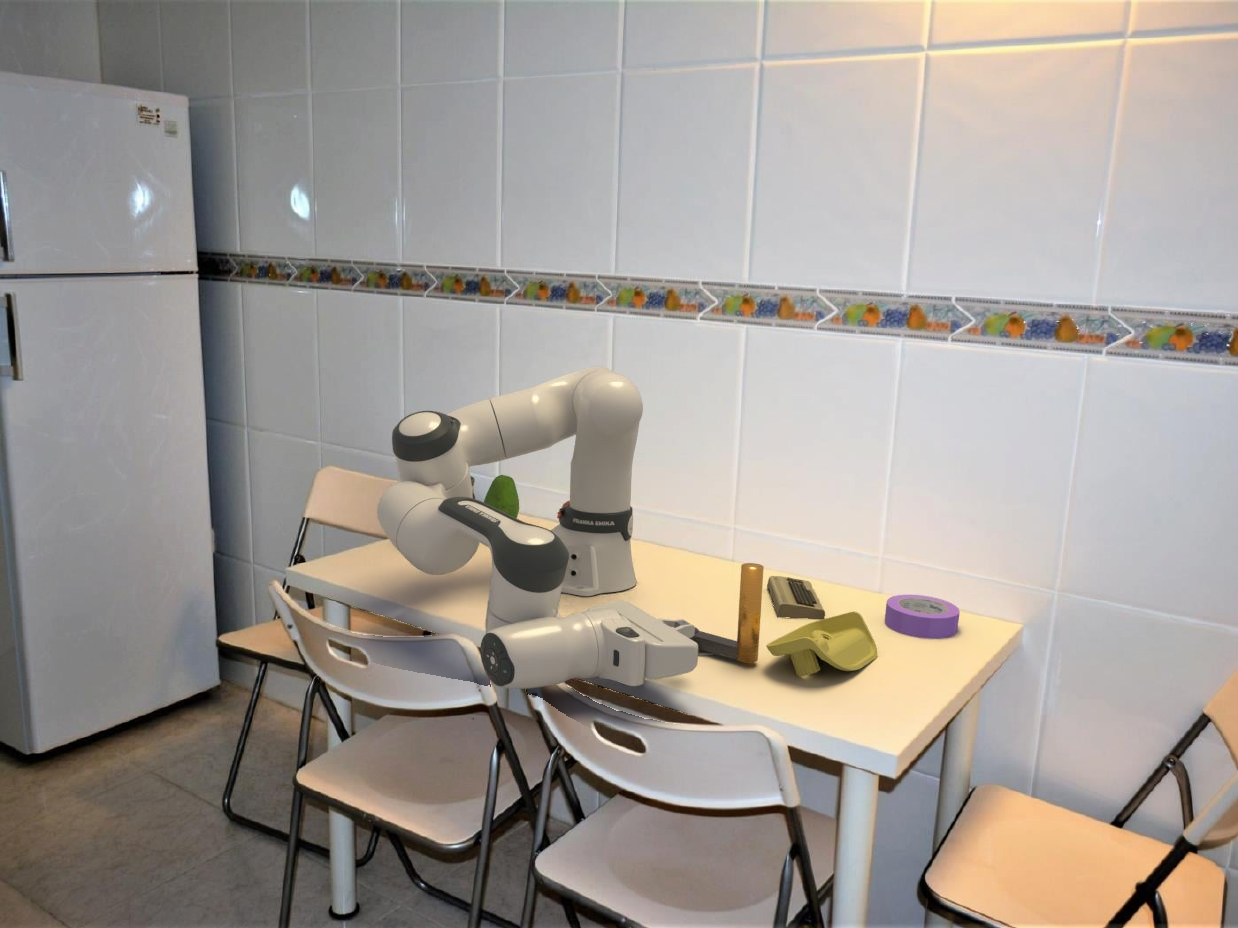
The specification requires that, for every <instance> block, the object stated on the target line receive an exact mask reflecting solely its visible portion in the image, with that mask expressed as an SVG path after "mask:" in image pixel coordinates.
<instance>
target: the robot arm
mask: <svg viewBox="0 0 1238 928" xmlns="http://www.w3.org/2000/svg"><path fill="white" fill-rule="evenodd" d="M643 413H644V403H643V400H642V395H641V393H640V391H639V388H638V387H637V386H636V385H635V384H634V382H633V381H632V380H631V379H629V378H628V377H626V376H624V375H622V374H620V373H618V372H616V371H613V370H611V369H609V368H607V367H604V366H589V367H586V368H583V369H579V370H577V371H573V372H571V373H568V374H564V375H562V376H558V377H556V378H553V379H550V380H548V381H546V382H543V383H540V384H538V385H535V386H532V387H528V388H525V389H520V390H516V391H514V392H509V393H505V394H502V395H501V394H500V395H498V396H494V397H490V398H486V399H483V400H479V401H476V402H473V403H471V404H467V405H466V406H462V407H460V408H458V409H455V410H453V411H451V412H449V413H444V412H439V411H436V410H435V411H434V410H421V411H417V412H413V413H410V414H409V415H406V416H404V417H402V418H401V420H400V421H399V422H398V423H397V424H396V426H395V427H394V428H393V430H392V434H391V445H392V452H393V454H394V455H395V460H396V466H397V470H398V473H399V478H400V481H398V482H396V483H394V484H392V485H390V486H389V487H387V489H385V491H384V492H383V493H382V495H381V496H380V497H379V500H378V504H377V507H376V515H377V517H376V518H377V520H378V523H379V525H380V527H381V529H382V530H383V533H384V534H385V536H386V537H387V538H388V540H389V542H390V543H391V544H392V546H394V548H395V549H396V550H397V551H398V553H400V554H401V555H402V556H403V557H404V558H405V559H406V560H407V562H409V563H410V564H411V565H412V566H413V568H414V567H415V568H416V569H417V570H419V571H420V572H423V573H425V574H427V575H431V576H433V575H434V576H443V575H447V574H448V575H449V574H451V573H454V572H455V571H458V570H459V569H461V568H462V567H465V565H467V564H468V562H470V561H471V559H472V558H473V557H474V556H475V554H476V553H477V550H478V548H479V545H480V544H482V545H484V546H485V547H487V548H489V551H490V554H491V555H490V556H491V576H490V584H489V593H488V600H487V606H486V616H485V624H484V626H485V634H484V635H483V637H482V639H481V643H480V650H479V651H480V658H481V663H482V667H483V670H484V671H485V674H486V676H487V677H488V678H489V680H490V681H491V682H492V684H494V685H495V686H497V687H498V688H499V687H500V688H503V689H511V690H525V689H536V688H543V687H549V686H555V685H560V684H563V683H565V682H566V681H569V680H571V679H580V680H587V679H593V678H599V679H602V680H603V679H604V680H610V681H614V682H618V683H620V684H623V685H626V686H629V687H638V686H641V685H643V684H644V679H645V680H661V679H667V678H672V677H677V676H680V675H683V674H688V673H690V672H693V671H695V669H696V668H697V667H698V660H699V656H698V644H697V643H696V642H695V641H693V640H691V639H689V638H691V637H693V636H694V634H695V627H696V626H695V625H694V624H692V623H690V622H688V621H687V620H685V619H683V618H678V619H671V618H670V619H669V618H659V617H658V618H656V617H655V616H653V615H651V614H650V613H648V612H646V611H645V610H644V609H642V608H639V607H638V606H636V605H635V604H633V603H631V602H630V601H628V600H614V601H609V602H604V603H599V604H596V605H595V604H594V605H593V606H590V607H589V608H587V610H585V611H577V612H573V613H571V614H569V615H567V616H562V615H561V614H560V613H559V607H560V600H561V593H564V594H565V593H566V594H570V595H576V596H581V597H591V596H592V597H593V596H596V595H598V594H606V593H614V592H616V593H617V592H621V591H626V590H629V589H631V588H633V587H634V586H635V585H637V583H638V581H637V578H636V573H635V570H634V562H633V555H632V545H631V538H632V536H633V529H634V528H633V527H634V515H633V513H634V511H633V506H632V505H631V501H632V500H631V499H632V497H631V496H632V473H633V463H634V462H633V461H634V457H635V456H634V455H635V450H636V445H637V441H638V435H639V434H638V433H639V428H640V427H639V426H640V422H641V420H642V418H643V417H642V416H643ZM574 436H575V438H574V439H575V441H574V447H573V453H572V457H571V461H570V473H569V474H570V475H569V477H570V478H569V480H570V482H569V500H567V501H566V502H564V503H562V506H561V508H559V510H558V512H557V513H556V514H557V516H556V517H557V519H558V522H559V524H557V525H556V526H555V527H553V528H551V529H548V528H546V527H542V526H539V525H536V524H532V523H528V522H525V521H523V520H520V519H518V517H517V518H515V517H513V516H511V515H509V514H507V513H505V512H503V511H501V510H499V509H497V508H495V507H492V506H490V505H488V504H486V503H484V501H481V500H479V499H476V495H475V493H473V492H472V483H471V477H470V476H471V472H470V467H474V466H481V465H487V464H491V463H497V462H501V461H505V460H508V459H512V458H516V457H519V456H520V457H521V456H523V455H528V454H530V453H533V452H538V451H541V450H545V449H549V448H551V447H552V446H554V445H555V444H556V445H557V443H560V442H562V441H565V440H567V439H569V438H571V437H574Z"/></svg>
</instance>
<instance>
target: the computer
mask: <svg viewBox="0 0 1238 928" xmlns="http://www.w3.org/2000/svg"><path fill="white" fill-rule="evenodd" d="M766 590H767V592H768V591H770V592H769V598H770V597H771V598H770V600H772V601H771V604H772V603H773V604H772V606H773V605H774V606H773V607H774V611H775V610H776V611H775V613H776V617H777V618H778V617H790V618H789V619H798V618H808V619H809V620H822V619H825V618H826V617H825V616H826V611H825V609H824V608H823V605H822V603H821V602H820V599H819V597H818V595H817V593H816V591H815V589H814V588H813V585H812V582H810V581H809V580H805V579H800V578H793V577H790V576H787V577H786V576H782V575H781V576H780V575H771V576H768V580H767V585H766ZM808 619H807V620H808Z"/></svg>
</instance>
